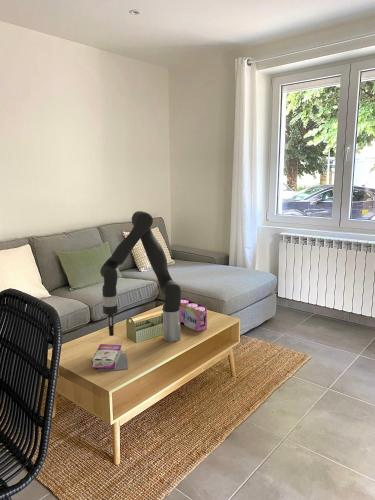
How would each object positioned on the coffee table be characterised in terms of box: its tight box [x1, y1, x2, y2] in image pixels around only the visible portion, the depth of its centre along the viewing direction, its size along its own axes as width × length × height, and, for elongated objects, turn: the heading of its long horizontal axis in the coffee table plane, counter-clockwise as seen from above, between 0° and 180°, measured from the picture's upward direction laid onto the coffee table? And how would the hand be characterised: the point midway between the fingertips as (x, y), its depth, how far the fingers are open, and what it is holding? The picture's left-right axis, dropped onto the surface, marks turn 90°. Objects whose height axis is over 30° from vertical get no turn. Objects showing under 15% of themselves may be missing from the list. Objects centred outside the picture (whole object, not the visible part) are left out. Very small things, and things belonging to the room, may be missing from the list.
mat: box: [97, 352, 129, 373], centre depth 192 cm, size 14×16×1 cm
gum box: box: [179, 297, 208, 332], centre depth 237 cm, size 24×8×14 cm, turn 38°
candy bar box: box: [91, 343, 122, 369], centre depth 193 cm, size 11×5×16 cm
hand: (111, 335), depth 202 cm, fingers closed
